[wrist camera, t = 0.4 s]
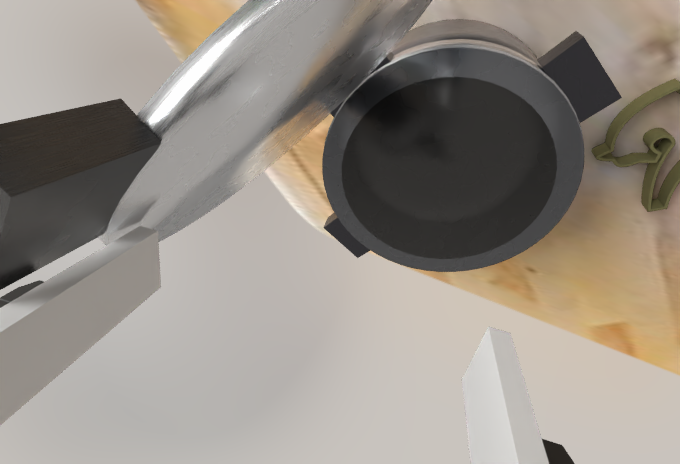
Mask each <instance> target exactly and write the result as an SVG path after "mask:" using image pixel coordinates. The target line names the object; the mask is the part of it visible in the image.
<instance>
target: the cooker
mask: <svg viewBox="0 0 680 464" xmlns="http://www.w3.org/2000/svg"><path fill="white" fill-rule="evenodd" d="M620 98H622V97H621V95H620V94H619V92H618V91H617V89H616V87H615V86H614V84H613V83H612V81H611V80H610V78H609V76H608V75H607V73H606V72H605V70H604V68H603V67H602V65H601V64H600V62H599V60H598V59H597V57H596V56H595V54H594V52H593V51H592V49H591V48H590V46H589V44H588V43H587V41H586V40H585V38H584V37H583V36H582V35H581V34H579V33H578V32H577V31H575V32H574V33H573V34H571V35H570V36H569V37H568V38H566V39H565V40H564V41H562V42H561V43H560V44H558V45H557V46H556V47H554V48H553V49H552V50H550V51H549V52H548V53H546V54H545V55H544V56H542V57H541V58H540V59H537V58H536V57H535V55H534V54H533V53H532V52H531V50H530V49H529V48H528V47H527V46H526V45H525V44H524V43H522V42H521V41H520V40H519V39H518V38H517V37H515V36H513V35H512V34H510V33H509V32H507V31H505V30H503V29H501V28H499V27H496V26H494V25H491V24H488V23H484V22H479V21H475V20H463V19H456V20H443V21H438V22H433V23H428V24H426V25H423V26H420V27H417V28H414V29H412V30H410V31H408V32H407V33H406V35H405V36H404V37H403V38H402V39H401V40H400V42H399V43H398V44H397V45H396V46H395V47H394V48H393V50H392V51H391V52H390V53H389V54H388V55H387V56H386V57H385V58H384V60H383V61H382V62H381V63H380V64H379V65H378V66H377V67H376V68H375V69H374V70H373V71H372V72H371V73H370V74H369V75H368V77H367V78H366V79H365V80H364V81H363V82H362V83H361V84H360V85H359V86H358V87H357V88H356V89H355V90H354V91H353V92H352V93H351V94H350V95H349V96H348V97H347V98H346V99H345V100H344V101H343V102H342V103H341V104H339V105H338V106H337V107H336V108H335V109H334V110H333V111H332V112H331V115H332V116H333V117H334V119H333V121H332V123H331V125H330V128H329V131H328V134H327V137H326V141H325V146H324V152H323V180H324V186H325V190H326V193H327V197H328V199H329V202H330V204H331V206H332V209H333V211H334V212H335V213H333V214H332V215H331V216H329V217H328V219H327V221H326V223H325V226H324V229H326V230H327V231H328V232H329V233H330V234H331V235H332V236H334V237H335V238H336V239H337V240H338V241H339V242H340V243H341V244H343V245H344V246H345V247H346V248H347V249H348V250H349V251H351V252H352V253H353V254H354V255H355V256H356V257H360V256H361V255H363V254H365V253H367V252H368V251H370V250H371V251H373V252H374V253H376V254H378V255H380V256H382V257H384V258H386V259H387V260H390V261H393V262H395V263H398V264H400V265H404V266H407V267H411V268H415V269H421V270H426V271H437V272H456V271H467V270H473V269H478V268H483V267H487V266H490V265H494V264H497V263H499V262H502V261H504V260H507V259H510V258H512V257H514V256H516V255H517V254H519V253H521V252H523V251H525V250H526V249H528V248H529V247H531V246H533V245H534V244H536V243H537V242H538V241H539V240H541V239H542V238H543V237H544V236H545V235H547V234H548V233H549V232H550V231H551V230H552V229H553V228H554V226H555V225H556V224H557V223H558V222H559V221H560V220H561V218H562V217H563V216H564V214H565V213H566V211H567V210H568V208H569V207H570V205H571V203H572V201H573V199H574V197H575V195H576V193H577V190H578V187H579V184H580V182H581V177H582V172H583V167H584V143H583V136H582V130H581V126H580V123H581V122H582V121H584V120H586V119H587V118H589V117H591V116H592V115H594V114H596V113H597V112H599V111H600V110H602V109H604V108H605V107H607V106H609V105H610V104H612V103H614V102H615V101H617V100H619V99H620ZM578 120H579V121H578ZM579 122H580V123H579Z"/></svg>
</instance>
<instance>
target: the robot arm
mask: <svg viewBox="0 0 680 464" xmlns="http://www.w3.org/2000/svg"><path fill="white" fill-rule="evenodd" d="M160 287H161V280H160V262H159V244H158V231H156V230H153V229H149V228H146V227H143V226H139V227H137V228H136V229H134V230H132V231H131V232H129V233H127V234H125V235H124V236H122V237H120V238H119V239H117V240H115V241H113V242H112V243H110V244H108V245H107V246H105V247H103V248H102V249H100V250H98V251H96V252H95V253H93V254H91V255H90V256H88V257H86V258H85V259H83V260H81V261H79V262H78V263H76V264H74V265H73V266H71V267H69V268H68V269H66V270H64V271H63V272H61V273H59V274H57V275H56V276H54V277H52V278H50V279H49V280H47V281H45V282H43V281H36V282H33V283H31V284H28V285H25V286H21V287H18V288H17V289H15V290H13V291H11V292H10V293H8V294H6V295H4V296H2V297H1V298H0V425H1V424H2V423H4V422H5V421H6V420H7V419H8V418H9V417H11V416H12V415H13V414H14V413H15V412H16V411H17V410H19V409H20V408H21V407H22V406H23V405H24V404H26V403H27V402H28V401H29V400H30V399H31V398H33V396H35V395H36V394H37V393H38V392H40V391H41V390H42V389H43V388H44V387H45V386H46V385H47V384H49V383H50V382H51V381H52V380H53V379H55V378H56V377H57V376H58V375H59V374H60V373H62V372H63V371H64V370H65V369H66V368H67V367H68V366H70V365H71V364H72V363H73V362H74V361H76V360H77V359H78V358H79V357H80V356H81V355H82V354H84V353H85V352H86V351H87V350H88V349H89V348H91V347H92V346H93V345H94V344H95V343H96V342H98V341H99V340H100V339H101V338H102V337H103V336H104V335H106V334H107V333H108V332H109V331H110V330H111V329H113V328H114V327H115V326H116V325H117V324H118V323H120V322H121V321H122V320H123V319H124V318H125V317H127V316H128V315H129V314H130V313H131V312H132V311H134V310H135V309H136V308H137V307H138V306H139V305H141V304H142V303H143V302H144V301H145V300H146V299H147V298H149V297H150V296H151V295H152V294H153V293H154V292H155V291H157V290H158V289H159V288H160ZM462 385H463V395H464V405H465V415H466V424H467V434H468V444H469V453H470V462H471V464H574V462H573V461H572V459H571V458H570V456H569V455H568V454H567V452H566V450H565V449H564V447H563V446H562V445H560V444H556V443H553V442H550V441H547V440H544V439H542V438H541V435H540V431H539V428H538V425H537V421H536V418H535V414H534V411H533V408H532V404H531V401H530V398H529V394H528V391H527V388H526V384H525V381H524V377H523V374H522V371H521V367H520V364H519V360H518V357H517V354H516V350H515V347H514V344H513V340H512V337H511V334H510V333H509V332H506V331H502V330H499V329H495V328H492V327H488V328H487V331H486V333H485V334H484V337H483V339H482V340H481V342H480V345H479V346H478V348H477V350H476V352H475V354H474V356H473V358H472V360H471V362H470V364H469V366H468V368H467V370H466V372H465V374H464V376H463V378H462Z"/></svg>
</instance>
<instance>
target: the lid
mask: <svg viewBox="0 0 680 464" xmlns="http://www.w3.org/2000/svg"><path fill="white" fill-rule="evenodd" d="M431 1H432V0H248V1H247V2H246V3H245V4H244V5H243V6H242V7H241V8H240V9H238V10H237V11H236V12H235V13H234V14H233V15H232V16H231V17H230V18H228V19H227V20H226V21H225V22H224V23H223V24H222V25H221V26H220V27H218V28H217V29H216V30H215V31H214V32H213V33H212V34H211V35H210V36H209V37H208V38H207V39H206V40H205V41H204V42H203V43H202V44H201V45H200V46H199V47H198V48H197V49H196V50H195V51H194V52H193V53H192V54H191V55H190V56H189V57H188V58H187V59H186V60H185V61H184V62H183V63H182V64H181V65H180V66H179V67H178V68H177V69H176V70H175V71H174V72H173V73H172V74H171V76H170V77H169V78H168V79H167V80H166V81H165V83H164V84H163V85H162V86H161V87H160V88H159V90H158V91H157V92H156V93H155V94H154V96H153V97H152V98H151V99H150V100H149V101H148V103H147V104H146V105H145V106H144V107H143V108H142V110H141V111H140V112H139V113H138V115H137V116H136V115H135V113H134V112H133V111H131V109H130V108H129V107H128V106H127V105H126V104H125V103H124V101H123V100H122V99H117V100H112V101H107V102H103V103H98V104H93V105H88V106H84V107H79V108H74V109H70V110H65V111H61V112H56V113H51V114H46V115H41V116H37V117H32V118H28V119H23V120H18V121H13V122H8V123H4V124H0V290H1V289H3V288H5V287H6V286H8V285H10V284H12V283H14V282H16V281H17V280H19V279H21V278H23V277H25V276H27V275H28V274H30V273H32V272H34V271H36V270H38V269H40V268H42V267H43V266H45V265H47V264H49V263H51V262H52V261H54V260H56V259H58V258H60V257H62V256H64V255H66V254H67V253H69V252H71V251H73V250H75V249H77V248H78V247H80V246H82V245H84V244H86V243H88V242H90V241H91V240H93V239H95V238H97V237H98V238H99V239H100V240H101V241H102V242H103V243H104V244H105V245H106V246H107V245H108V244H110V243H112V242H113V241H115V240H117V239H119V238H120V237H122V236H124V235H125V234H127V233H129V232H131V231H132V230H134V229H136V228H137V227H139V226H143V227H146V228H149V229H153V230H156V231H158V242H159V241H161V240H163V239H165V238H167V237H169V236H171V235H173V234H175V233H176V232H178V231H180V230H181V229H183V228H185V227H186V226H188V225H189V224H191V223H193V222H194V221H196V220H198V219H199V218H201V217H202V216H204V215H205V214H207V213H208V212H210V211H211V210H213V209H214V208H215V207H217V206H218V205H220V204H221V203H222V202H224V201H225V200H227V199H228V198H230V197H231V196H232V195H234V194H235V193H236V192H238V191H239V190H240V189H242V188H243V187H244V186H245V185H247V184H248V183H249V182H251V181H252V180H253V179H254V178H256V177H257V176H258V175H260V174H261V173H262V172H263V171H265V170H266V169H267V168H268V167H270V166H271V165H272V164H273V163H274V162H276V161H277V160H278V159H279V158H280V157H282V156H283V155H284V154H285V153H286V152H288V151H289V150H290V149H291V148H292V147H293V146H295V145H296V144H297V143H298V142H299V141H300V140H301V139H303V138H304V137H305V136H306V135H307V134H308V133H309V132H310V131H312V130H313V129H314V128H315V127H316V126H317V125H318V124H319V123H320V122H321V121H322V120H324V119H325V118H326V117H327V116H328V115H329V114H330V113H331V112H332V111H333V110H334V109H335V108H336V107H337V106H338V105H339V104H341V103H342V102H343V101H344V100H345V99H346V98H347V97H348V96H349V95H350V94H351V93H352V92H353V91H354V90H355V89H356V88H357V87H358V86H359V85H360V84H361V83H362V82H363V81H364V80H365V79H366V78H367V77H368V75H369V74H370V73H371V72H372V71H373V70H374V69H375V68H376V67H377V66H378V65H379V64H380V63H381V62H382V61H383V60H384V58H385V57H386V56H387V55H388V54H389V53H390V52H391V51H392V50H393V48H394V47H395V46H396V45H397V44H398V43H399V42H400V40H401V39H402V38H403V37H404V36H405V35H406V33H407V32H408V31H409V30H410V29H411V27H412V26H413V25H414V24H415V22H416V21H417V20H418V19H419V17H420V16H421V15H422V13H423V12H424V11H425V10H426V8H427V7H428V5H429V4H430V3H431Z"/></svg>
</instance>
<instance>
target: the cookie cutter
mask: <svg viewBox="0 0 680 464" xmlns="http://www.w3.org/2000/svg"><path fill="white" fill-rule="evenodd" d="M674 91H676V92H678V93H679V94H680V82H679V81H678V80H676V79H673V80H670V81H668V82H666V83H664V84H661V85H659V86H657V87H655V88H653V89H652V90H650V91H648V92H646V93H644V94H643V95H641V96H640V97H638V98H637V99H635V100H634V101H632V102H631V103H630V104H629V105H627V106H626V107H625V108H624V109H623V110H622V111H621V112H620V113H619V114H618V115H617V116H616V118H615V119H614V120H613V122H612V123H611V125H610V127H609V129H608V132H607V135H606V139H605V143H603V144H601V145H598V146H596V147H595V148H593V149H592V150H591V151H592V153H593V154H594V156H595V157H596V159H597V160H601V161H612V162H613V163H614V164H615V165H616V166H618V167H628V166H632V165H634V164H637V163H649V164H648V166H647V169H646V173H645V177H644V181H643V188H642V205H643V206H644V207H645V209H646V210H647V212H651V211H656V210H662V209H667V207H668V204H669V201H670V198H671V196H672V194H673V192H674V190H675V188H676V187H677V185H678V184H679V182H680V161H679V162H678V163H677V164H676V165H675V166H674V167H673V168H672V170H671V171H670V172H669V174H668V175H667V177H666V179H665V180H664V182H663V184H662V186H661V189H660V191H659V194H658V198H656V199H652V194H653V188H654V184H655V181H656V178H657V175H658V172H659V170H660V167H661V165H662V163H663V162H664V160H665V158H666V156H667V155H668V153H669V152H670V150H671V149H672V148H673V147H674V145H675V139H674V138H673V137H672V136H671V135H670V134H669V133H668V132H667V131H666V130H665V129H663V128H654V129H651V130H649V131H648V132H646V133H645V135H644V136H643V141H644V143H645V144H646V145H647V146H648V147H649V148H650V149H649V151H648V153H631V154H628V155H625V156H622V157H614V156H613V155H612V154H611V152H613V151H614V145H615V141H616V138H617V136H618V134H619V132H620V131H621V129H622V128H623V126H624V125H625V124H626V123H627V122H628V121H629V120H630V119H631V118H632V117H633V116H634V115H635V114H636V113H637V112H639V111H640V110H641V109H643V108H644V107H646V106H647V105H649V104H651V103H652V102H654V101H656V100H658V99H660V98H661V97H663V96H665V95H667V94H670V93H672V92H674ZM661 138H663V139H662V140H661V141H660V143H659V144H658V146H657V147H656V146H655V145H654V143H655V141H657V140H658V139H661Z"/></svg>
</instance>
